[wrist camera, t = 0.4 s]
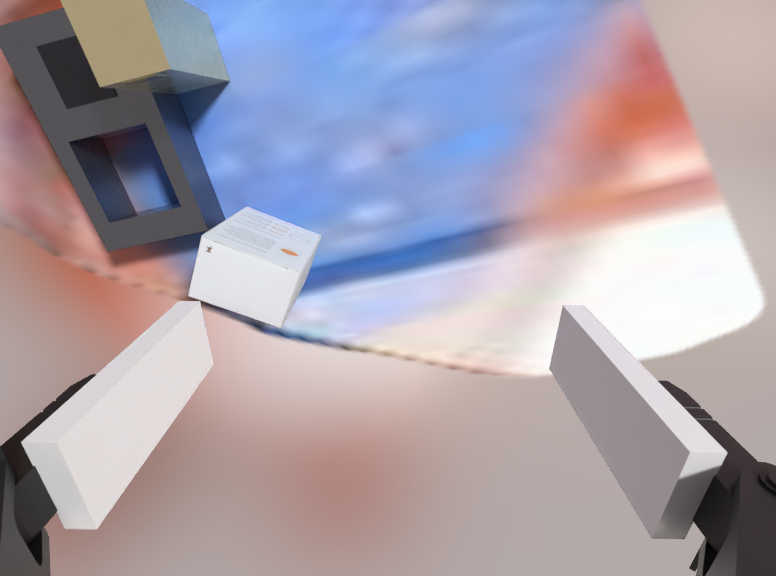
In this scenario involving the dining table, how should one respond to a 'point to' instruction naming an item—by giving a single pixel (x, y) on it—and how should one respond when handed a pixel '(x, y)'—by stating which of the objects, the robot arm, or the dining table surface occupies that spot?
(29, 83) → the grey square hole block
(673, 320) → the dining table surface
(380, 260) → the dining table surface
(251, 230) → the small box
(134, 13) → the beige square peg
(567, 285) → the dining table surface
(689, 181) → the dining table surface
